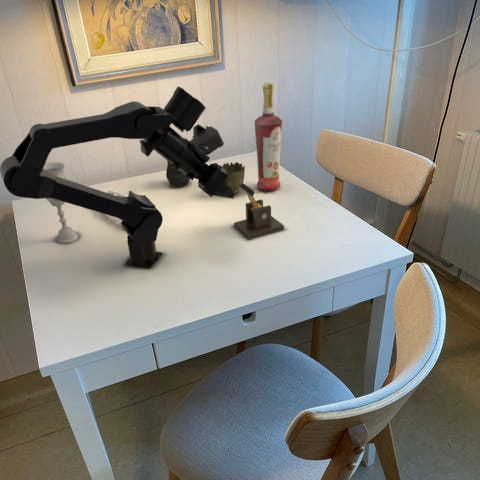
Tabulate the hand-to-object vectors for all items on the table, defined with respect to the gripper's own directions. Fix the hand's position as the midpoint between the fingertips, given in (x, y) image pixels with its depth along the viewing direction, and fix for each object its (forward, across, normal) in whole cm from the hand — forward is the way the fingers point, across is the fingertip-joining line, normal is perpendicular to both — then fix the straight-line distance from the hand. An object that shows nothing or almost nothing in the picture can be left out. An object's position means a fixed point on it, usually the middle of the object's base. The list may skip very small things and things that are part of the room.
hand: (224, 189), depth 113 cm
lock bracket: (+15, 0, +2) cm, 15 cm away
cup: (+18, +22, 0) cm, 28 cm away
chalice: (-15, +20, +34) cm, 42 cm away
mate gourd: (+10, +37, +7) cm, 39 cm away
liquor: (+25, +20, -8) cm, 33 cm away
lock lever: (+8, 0, -1) cm, 8 cm away
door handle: (-4, +26, +22) cm, 35 cm away
